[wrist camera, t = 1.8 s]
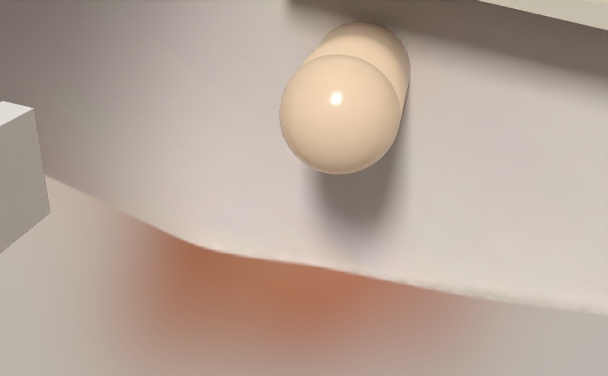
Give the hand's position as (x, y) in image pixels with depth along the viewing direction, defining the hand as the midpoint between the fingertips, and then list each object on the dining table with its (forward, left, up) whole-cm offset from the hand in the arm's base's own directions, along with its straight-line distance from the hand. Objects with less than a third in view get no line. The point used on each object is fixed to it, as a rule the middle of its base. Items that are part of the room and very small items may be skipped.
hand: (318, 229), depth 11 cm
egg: (-1, -1, -15) cm, 15 cm away
